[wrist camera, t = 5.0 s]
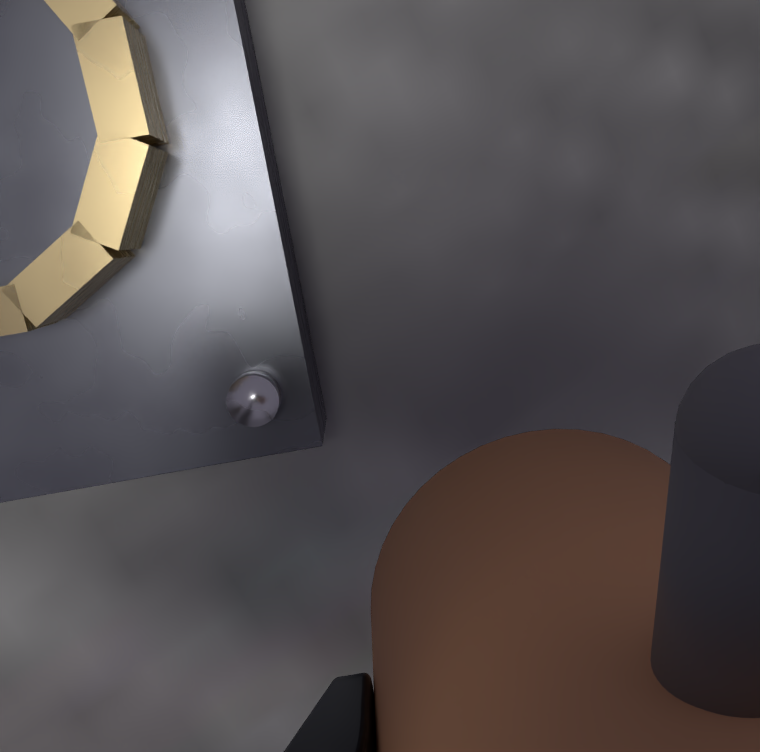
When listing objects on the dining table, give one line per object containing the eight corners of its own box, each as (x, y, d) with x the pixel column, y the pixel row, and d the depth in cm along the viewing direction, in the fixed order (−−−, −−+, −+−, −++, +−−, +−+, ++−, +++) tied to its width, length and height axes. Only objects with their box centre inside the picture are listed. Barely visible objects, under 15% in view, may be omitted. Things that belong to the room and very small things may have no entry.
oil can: (737, 728, 10) (1621, 1878, 3) (400, 783, 10) (502, 2061, 3) (707, 240, 9) (2242, 281, 2) (314, 306, 9) (125, 634, 2)
